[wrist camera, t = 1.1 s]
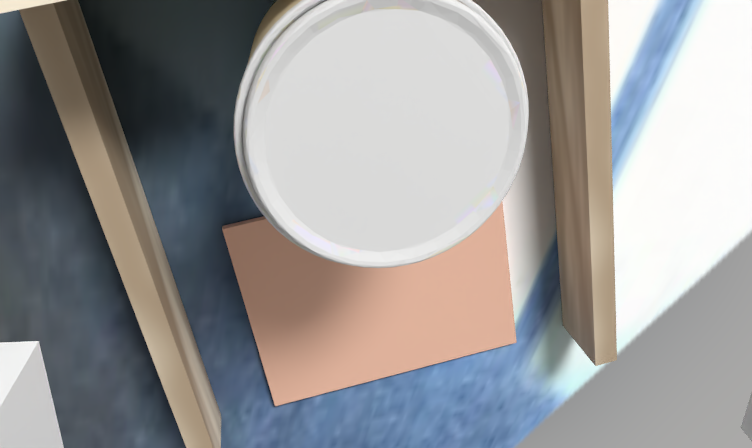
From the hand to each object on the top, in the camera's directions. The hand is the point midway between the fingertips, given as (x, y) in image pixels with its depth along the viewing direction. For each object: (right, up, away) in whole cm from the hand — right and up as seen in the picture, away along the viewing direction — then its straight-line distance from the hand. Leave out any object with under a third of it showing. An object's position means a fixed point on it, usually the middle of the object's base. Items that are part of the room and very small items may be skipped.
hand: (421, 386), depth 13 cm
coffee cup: (-3, +10, +19) cm, 22 cm away
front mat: (-1, 0, +24) cm, 24 cm away
